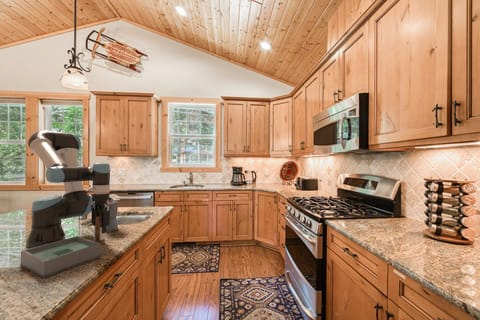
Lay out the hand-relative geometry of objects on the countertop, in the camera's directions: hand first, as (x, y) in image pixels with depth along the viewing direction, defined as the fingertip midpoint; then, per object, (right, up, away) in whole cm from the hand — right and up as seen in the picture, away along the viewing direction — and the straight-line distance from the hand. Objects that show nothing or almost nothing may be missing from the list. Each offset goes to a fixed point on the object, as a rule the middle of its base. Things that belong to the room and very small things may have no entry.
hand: (99, 238), depth 110 cm
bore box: (-2, -2, -20) cm, 20 cm away
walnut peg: (0, -3, 0) cm, 3 cm away
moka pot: (-9, -3, +22) cm, 24 cm away
